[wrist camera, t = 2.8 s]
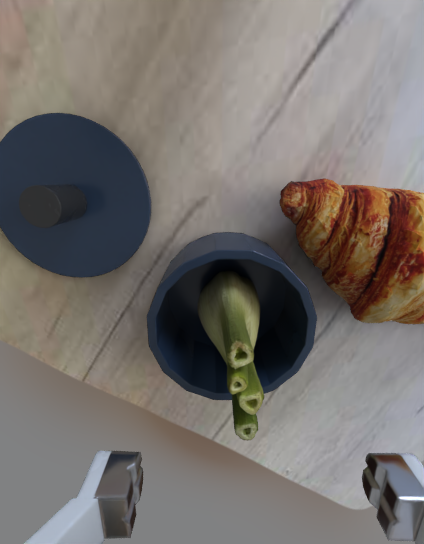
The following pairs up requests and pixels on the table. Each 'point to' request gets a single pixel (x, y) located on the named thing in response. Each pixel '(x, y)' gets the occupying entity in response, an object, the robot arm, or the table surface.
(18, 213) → the lid
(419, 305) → the croissant
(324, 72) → the table surface
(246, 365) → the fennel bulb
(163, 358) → the pot
